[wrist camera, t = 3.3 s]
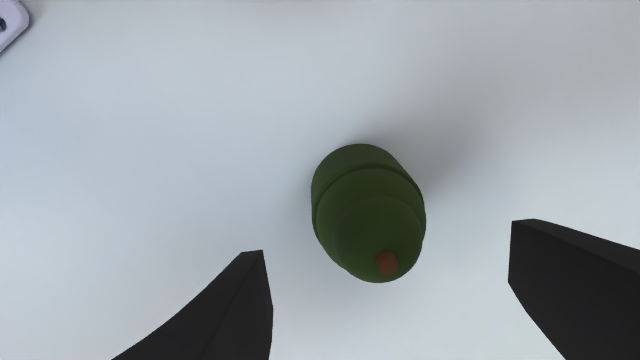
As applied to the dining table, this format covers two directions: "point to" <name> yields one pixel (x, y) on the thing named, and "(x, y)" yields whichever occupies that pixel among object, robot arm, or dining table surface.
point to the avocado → (368, 213)
